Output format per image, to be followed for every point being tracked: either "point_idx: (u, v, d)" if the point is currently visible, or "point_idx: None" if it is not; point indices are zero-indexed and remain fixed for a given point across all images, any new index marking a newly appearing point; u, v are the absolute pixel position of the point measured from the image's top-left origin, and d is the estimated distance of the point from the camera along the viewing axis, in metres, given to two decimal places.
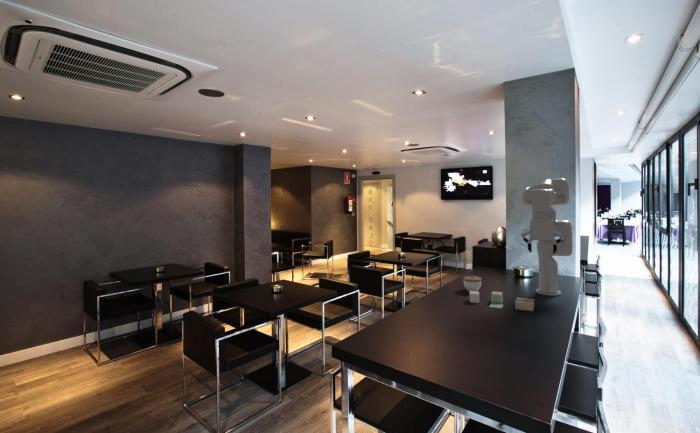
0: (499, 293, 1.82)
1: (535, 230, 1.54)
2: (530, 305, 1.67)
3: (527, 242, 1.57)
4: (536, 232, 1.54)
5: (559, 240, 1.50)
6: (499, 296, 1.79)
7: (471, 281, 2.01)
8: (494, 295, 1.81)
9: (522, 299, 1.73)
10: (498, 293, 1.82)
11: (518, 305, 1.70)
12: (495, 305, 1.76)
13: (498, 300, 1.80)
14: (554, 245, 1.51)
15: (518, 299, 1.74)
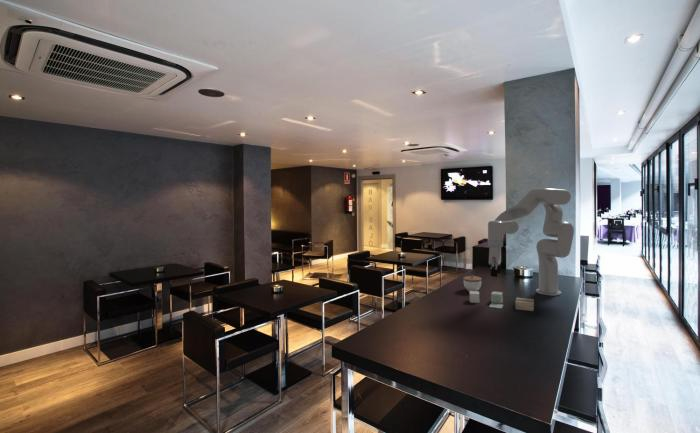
0: (499, 293, 1.82)
1: (499, 256, 1.78)
2: (530, 305, 1.67)
3: (496, 268, 1.76)
4: (499, 257, 1.78)
5: None
6: (499, 296, 1.79)
7: (471, 281, 2.01)
8: (494, 295, 1.81)
9: (522, 299, 1.73)
10: (498, 293, 1.82)
11: (518, 305, 1.70)
12: (495, 305, 1.76)
13: (498, 300, 1.80)
14: (500, 266, 1.85)
15: (518, 299, 1.74)
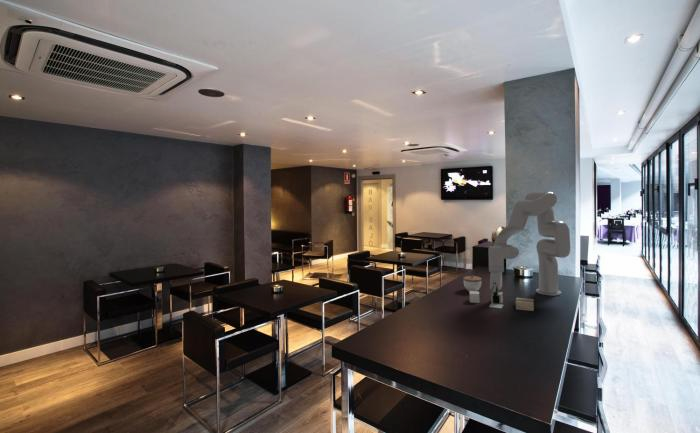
0: (499, 293, 1.82)
1: (500, 281, 1.79)
2: (531, 305, 1.67)
3: (497, 295, 1.79)
4: (500, 283, 1.79)
5: None
6: (499, 296, 1.79)
7: (471, 281, 2.01)
8: None
9: (522, 299, 1.73)
10: None
11: (518, 305, 1.69)
12: (495, 305, 1.76)
13: None
14: None
15: (518, 299, 1.73)
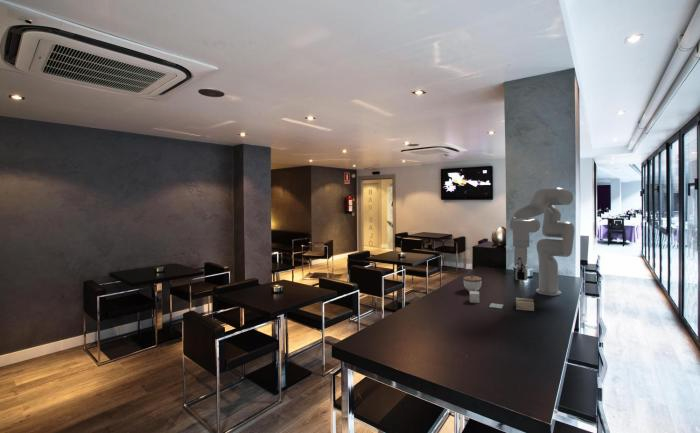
0: None
1: (525, 257, 1.68)
2: (531, 305, 1.67)
3: (523, 271, 1.68)
4: (525, 258, 1.68)
5: (524, 265, 1.75)
6: (524, 272, 1.69)
7: (471, 281, 2.01)
8: None
9: (522, 299, 1.73)
10: None
11: (519, 306, 1.69)
12: (495, 305, 1.76)
13: None
14: None
15: (518, 299, 1.73)
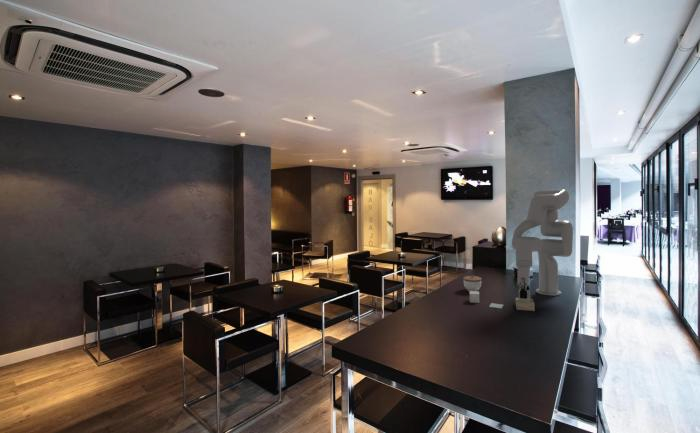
0: None
1: (528, 276, 1.68)
2: (532, 305, 1.67)
3: (525, 289, 1.66)
4: (528, 278, 1.68)
5: None
6: (527, 294, 1.68)
7: (471, 281, 2.01)
8: None
9: None
10: None
11: (519, 306, 1.69)
12: (495, 305, 1.76)
13: (526, 299, 1.69)
14: (528, 286, 1.74)
15: (518, 299, 1.73)
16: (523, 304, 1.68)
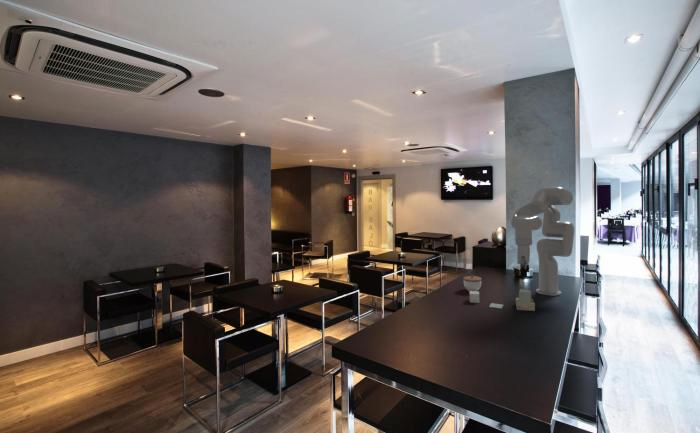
0: (527, 291, 1.70)
1: (528, 255, 1.67)
2: (532, 305, 1.67)
3: (525, 268, 1.65)
4: None
5: None
6: (528, 294, 1.68)
7: (471, 281, 2.01)
8: (522, 293, 1.70)
9: None
10: (526, 291, 1.70)
11: (519, 306, 1.69)
12: (495, 305, 1.76)
13: (527, 299, 1.69)
14: (528, 265, 1.74)
15: (518, 299, 1.73)
16: (523, 304, 1.68)
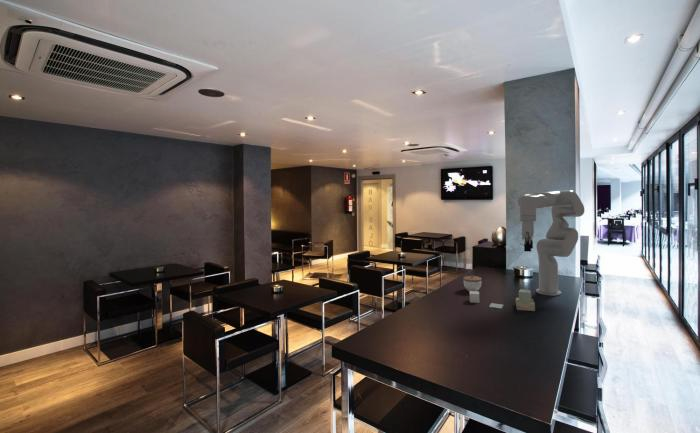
0: (527, 291, 1.70)
1: (532, 230, 1.76)
2: (532, 305, 1.67)
3: (529, 242, 1.74)
4: (532, 232, 1.77)
5: None
6: (527, 294, 1.68)
7: (471, 281, 2.01)
8: (522, 293, 1.70)
9: None
10: (526, 291, 1.70)
11: (519, 306, 1.69)
12: (495, 305, 1.76)
13: (526, 299, 1.69)
14: (532, 241, 1.83)
15: (518, 299, 1.73)
16: (523, 304, 1.68)
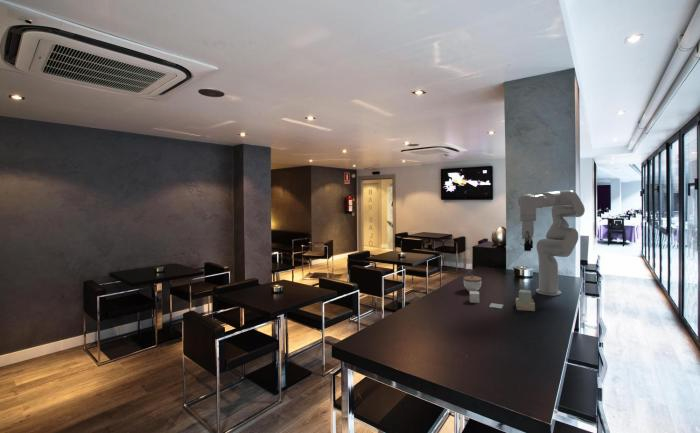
0: (527, 291, 1.70)
1: (532, 230, 1.77)
2: (532, 305, 1.66)
3: (529, 242, 1.75)
4: (532, 232, 1.77)
5: None
6: (527, 294, 1.68)
7: (471, 281, 2.01)
8: (522, 293, 1.69)
9: None
10: (526, 291, 1.70)
11: (519, 306, 1.69)
12: (495, 305, 1.76)
13: (526, 299, 1.68)
14: (532, 241, 1.83)
15: (518, 299, 1.73)
16: (523, 304, 1.68)
